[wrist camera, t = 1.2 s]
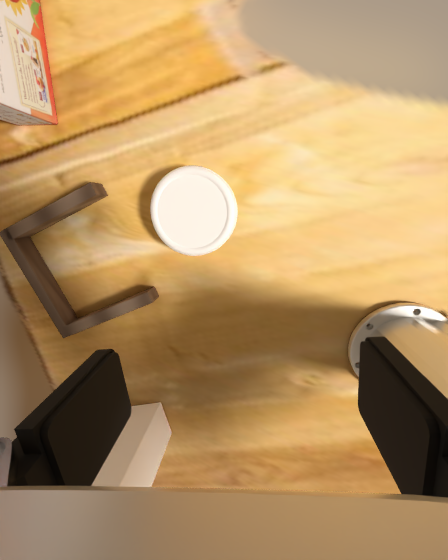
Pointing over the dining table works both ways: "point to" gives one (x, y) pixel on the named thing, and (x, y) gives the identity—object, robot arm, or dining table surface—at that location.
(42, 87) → the cracker box
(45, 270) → the bay
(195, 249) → the white plate stack
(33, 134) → the dining table surface
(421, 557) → the robot arm
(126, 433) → the milk
